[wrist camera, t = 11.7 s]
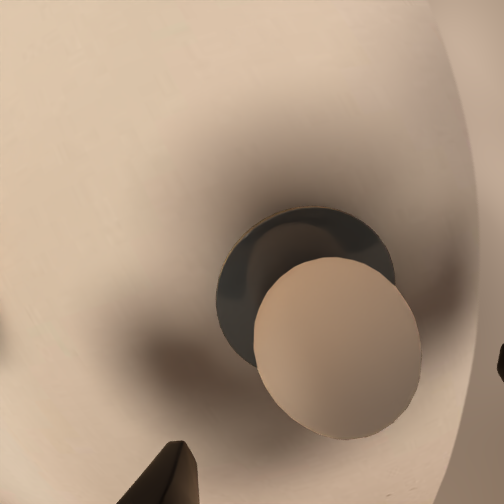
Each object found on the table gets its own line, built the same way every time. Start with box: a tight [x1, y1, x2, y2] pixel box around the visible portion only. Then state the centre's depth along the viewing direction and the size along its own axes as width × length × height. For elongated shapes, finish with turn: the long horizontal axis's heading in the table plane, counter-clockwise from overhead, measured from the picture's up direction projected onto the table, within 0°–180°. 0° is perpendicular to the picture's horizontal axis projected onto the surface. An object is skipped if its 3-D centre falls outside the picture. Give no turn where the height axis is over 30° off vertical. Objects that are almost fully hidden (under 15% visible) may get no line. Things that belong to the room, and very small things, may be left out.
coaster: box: [216, 206, 395, 367], centre depth 14 cm, size 8×8×1 cm
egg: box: [254, 257, 422, 440], centre depth 10 cm, size 5×5×7 cm
